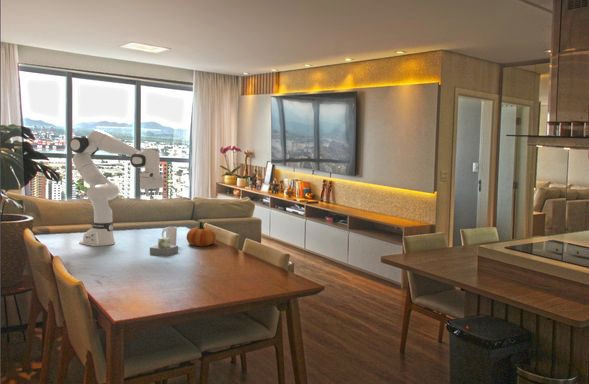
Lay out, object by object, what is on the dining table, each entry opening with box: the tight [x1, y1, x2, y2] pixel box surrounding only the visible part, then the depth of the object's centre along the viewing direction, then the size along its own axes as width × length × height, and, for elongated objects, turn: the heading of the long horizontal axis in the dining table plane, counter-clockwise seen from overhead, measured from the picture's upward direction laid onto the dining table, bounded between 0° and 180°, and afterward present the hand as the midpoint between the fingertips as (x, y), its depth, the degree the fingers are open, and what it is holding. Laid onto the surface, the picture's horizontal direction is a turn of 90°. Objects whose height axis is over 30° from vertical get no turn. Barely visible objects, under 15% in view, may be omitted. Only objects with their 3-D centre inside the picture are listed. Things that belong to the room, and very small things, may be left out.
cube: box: [157, 236, 170, 248], centre depth 303 cm, size 5×5×5 cm
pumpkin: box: [186, 221, 217, 247], centre depth 332 cm, size 19×19×15 cm
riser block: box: [149, 244, 179, 257], centre depth 304 cm, size 12×12×4 cm
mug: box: [161, 226, 178, 246], centre depth 326 cm, size 10×7×12 cm, turn 77°
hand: (152, 195), depth 316 cm, fingers open, 8 cm apart
